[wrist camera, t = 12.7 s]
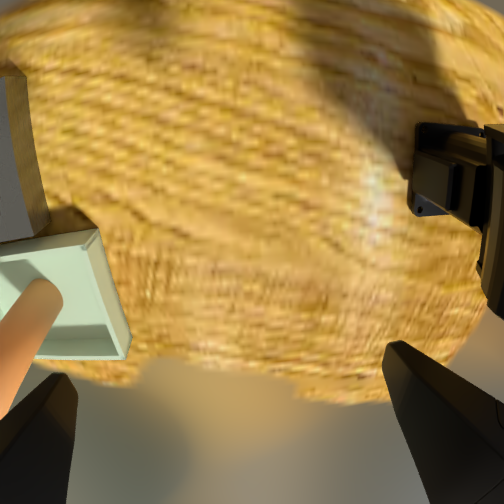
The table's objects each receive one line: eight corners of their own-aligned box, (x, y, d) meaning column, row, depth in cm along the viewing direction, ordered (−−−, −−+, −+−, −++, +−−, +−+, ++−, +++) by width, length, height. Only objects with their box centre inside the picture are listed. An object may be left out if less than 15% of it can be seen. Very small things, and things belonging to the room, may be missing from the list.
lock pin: (54, 277, 20) (-35, 421, 8) (69, 313, 21) (1, 459, 10) (22, 279, 20) (-68, 409, 8) (37, 314, 21) (-34, 446, 10)
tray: (98, 228, 19) (84, 244, 17) (132, 337, 23) (125, 359, 21) (-23, 248, 19) (-40, 263, 16) (17, 338, 23) (6, 356, 20)
